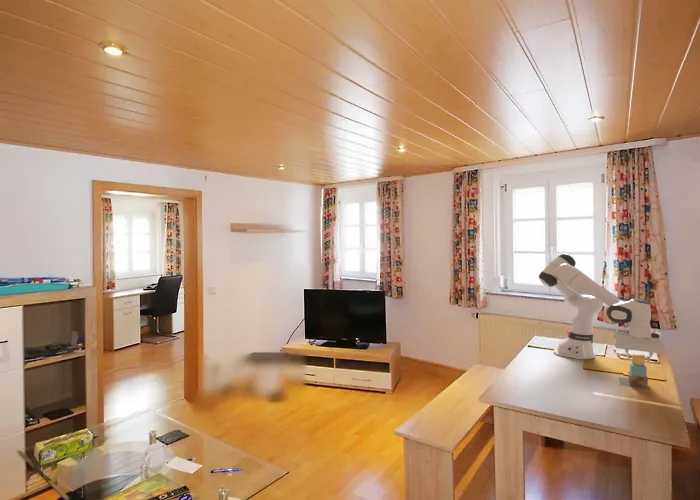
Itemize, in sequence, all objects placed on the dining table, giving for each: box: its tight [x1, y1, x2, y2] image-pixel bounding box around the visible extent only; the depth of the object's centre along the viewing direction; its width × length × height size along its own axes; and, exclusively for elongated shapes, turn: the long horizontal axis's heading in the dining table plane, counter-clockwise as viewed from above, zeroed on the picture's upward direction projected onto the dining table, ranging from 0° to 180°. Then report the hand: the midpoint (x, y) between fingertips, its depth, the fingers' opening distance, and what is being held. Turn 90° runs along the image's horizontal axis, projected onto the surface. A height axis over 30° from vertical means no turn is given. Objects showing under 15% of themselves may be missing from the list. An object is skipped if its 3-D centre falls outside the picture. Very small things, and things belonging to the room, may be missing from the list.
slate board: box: [618, 376, 649, 391], centre depth 200 cm, size 11×13×1 cm
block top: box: [629, 361, 648, 378], centre depth 198 cm, size 6×6×5 cm
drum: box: [631, 353, 646, 367], centre depth 197 cm, size 5×5×5 cm
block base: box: [628, 370, 649, 388], centre depth 198 cm, size 7×7×5 cm
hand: (638, 359), depth 197 cm, fingers open, 6 cm apart
